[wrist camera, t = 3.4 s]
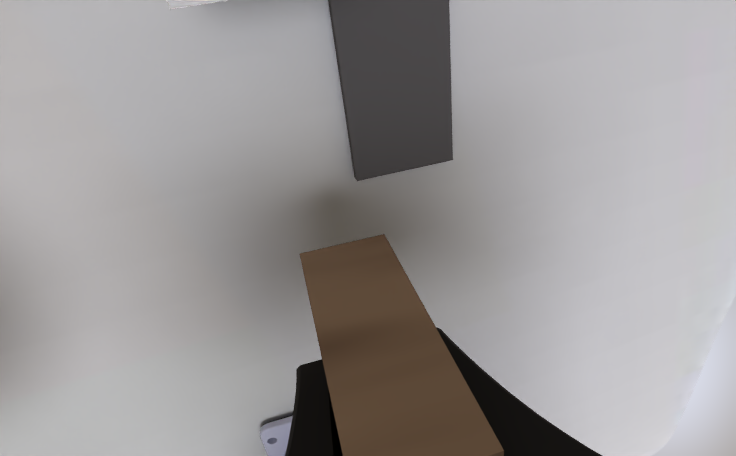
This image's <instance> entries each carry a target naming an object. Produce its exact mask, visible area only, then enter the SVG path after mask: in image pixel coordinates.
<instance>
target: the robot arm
mask: <svg viewBox="0 0 736 456" xmlns="http://www.w3.org/2000/svg"><path fill="white" fill-rule="evenodd" d="M436 329H437V331H438V332H439V334H440V336H441V338H442V340H443V341H444V343H445V345H446V347H447V349H448V350H449V352H450V354H451V356H452V358H453V359H454V361H455V363H456V365H457V367H458V368H459V370H460V372H461V374H462V376H463V377H464V379H465V381H466V383H467V385H468V387H469V388H470V390H471V392H472V394H473V396H474V397H475V399H476V401H477V403H478V405H479V406H480V408H481V410H482V412H483V414H484V415H485V417H486V419H487V421H488V423H489V424H490V426H491V428H492V430H493V432H494V433H495V435H496V437H497V439H498V441H499V442H500V444H501V446H502V448H503V450H504V456H602V455H600V454H598V453H597V452H595V451H593V450H591V449H590V448H588V447H587V446H585V445H583V444H582V443H580V442H579V441H577V440H575V439H574V438H572V437H571V436H569V435H568V434H566V433H565V432H563V431H562V430H560V429H559V428H557V427H556V426H554V425H553V424H551V423H550V422H548V421H547V420H545V419H544V418H543V417H541V416H540V415H538V414H537V413H536V412H534V411H533V410H532V409H530V408H529V407H528V406H526V405H525V404H524V403H522V402H521V401H520V400H519V399H517V398H516V397H515V396H513V395H512V394H511V393H510V392H508V391H507V390H506V389H505V388H504V387H502V386H501V385H500V384H499V383H498V382H496V381H495V380H494V379H493V378H492V377H491V376H489V375H488V374H487V373H486V372H485V371H484V370H482V369H481V368H480V367H479V366H478V365H477V364H476V363H475V362H474V361H472V360H471V359H470V358H469V357H468V356H467V355H466V354H465V353H464V352H463V351H462V350H461V349H460V348H459V347H458V346H457V345H456V344H455V343H454V342H453V341H452V340H451V339H450V338H449V337H448V336H447V335H446V334H445V333H444V332H443V331H442V330H441V329H439V328H436ZM260 438H261V440H262V443H263V445H264V447H265V450H266V452H267V455H268V456H343V454H342V449H341V444H340V440H339V435H338V430H337V426H336V421H335V416H334V412H333V407H332V402H331V398H330V393H329V388H328V384H327V379H326V374H325V370H324V365H323V360H318V361H314V362H311V363H307V364H304V365H300V366H299V367H298V369H297V382H296V395H295V404H294V411H293V416H290V417H287V418H284V419H280V420H277V421H273V422H270V423H267V424H265V425H263V426H262V427H261V428H260Z"/></svg>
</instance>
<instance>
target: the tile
mask: <svg viewBox="0 0 736 456" xmlns="http://www.w3.org/2000/svg"><path fill="white" fill-rule="evenodd" d="M222 1H229V0H167V3H168V6H169V9H176V8H183V7H189V6H196V5H202V4H209V3H216V2H222Z"/></svg>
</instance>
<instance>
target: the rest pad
mask: <svg viewBox="0 0 736 456" xmlns="http://www.w3.org/2000/svg"><path fill="white" fill-rule="evenodd" d="M328 2H329V9H330V15H331V22H332V29H333V35H334V42H335V49H336V55H337V62H338V69H339V75H340V82H341V89H342V95H343V102H344V109H345V115H346V122H347V129H348V135H349V142H350V149H351V155H352V162H353V169H354V175H355V178H356V180H357V181H359V180H364V179H368V178H373V177H377V176H382V175H386V174H391V173H395V172H400V171H405V170H409V169H414V168H418V167H423V166H427V165H432V164H436V163H441V162H446V161H450V160H453V152H452V108H451V64H450V20H449V0H328Z"/></svg>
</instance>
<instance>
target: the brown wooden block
mask: <svg viewBox="0 0 736 456" xmlns="http://www.w3.org/2000/svg"><path fill="white" fill-rule="evenodd" d="M300 258H301V262H302V267H303V272H304V276H305V281H306V286H307V290H308V295H309V300H310V304H311V309H312V314H313V318H314V323H315V328H316V332H317V337H318V342H319V346H320V351H321V356H322V360H323V365H324V370H325V374H326V379H327V384H328V388H329V393H330V398H331V402H332V407H333V412H334V416H335V421H336V426H337V430H338V435H339V440H340V444H341V449H342V454H343V456H504V450H503V448H502V446H501V444H500V442H499V441H498V439H497V437H496V435H495V433H494V432H493V430H492V428H491V426H490V424H489V423H488V421H487V419H486V417H485V415H484V414H483V412H482V410H481V408H480V406H479V405H478V403H477V401H476V399H475V397H474V396H473V394H472V392H471V390H470V388H469V387H468V385H467V383H466V381H465V379H464V377H463V376H462V374H461V372H460V370H459V368H458V367H457V365H456V363H455V361H454V359H453V358H452V356H451V354H450V352H449V350H448V349H447V347H446V345H445V343H444V341H443V340H442V338H441V336H440V334H439V332H438V331H437V329H436V327H435V325H434V323H433V322H432V320H431V318H430V316H429V314H428V313H427V311H426V309H425V307H424V305H423V303H422V302H421V300H420V298H419V296H418V294H417V293H416V291H415V289H414V287H413V285H412V284H411V282H410V280H409V278H408V276H407V275H406V273H405V271H404V269H403V267H402V266H401V264H400V262H399V260H398V258H397V257H396V255H395V253H394V251H393V249H392V248H391V246H390V244H389V242H388V240H387V239H386V237H385V235H384V234H383V235H378V236H374V237H370V238H365V239H361V240H357V241H352V242H348V243H344V244H339V245H335V246H331V247H326V248H322V249H318V250H313V251H309V252H305V253H300Z"/></svg>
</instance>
